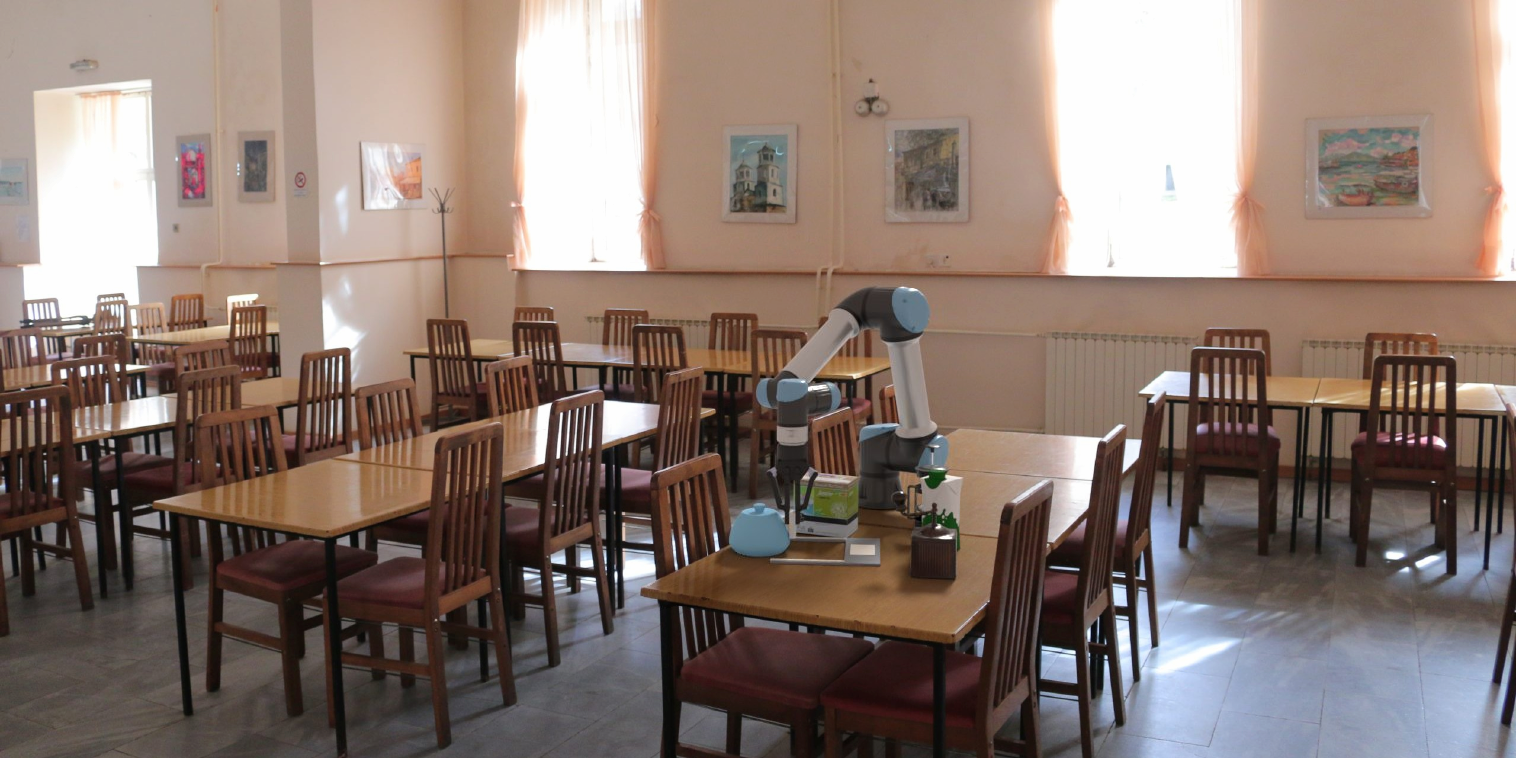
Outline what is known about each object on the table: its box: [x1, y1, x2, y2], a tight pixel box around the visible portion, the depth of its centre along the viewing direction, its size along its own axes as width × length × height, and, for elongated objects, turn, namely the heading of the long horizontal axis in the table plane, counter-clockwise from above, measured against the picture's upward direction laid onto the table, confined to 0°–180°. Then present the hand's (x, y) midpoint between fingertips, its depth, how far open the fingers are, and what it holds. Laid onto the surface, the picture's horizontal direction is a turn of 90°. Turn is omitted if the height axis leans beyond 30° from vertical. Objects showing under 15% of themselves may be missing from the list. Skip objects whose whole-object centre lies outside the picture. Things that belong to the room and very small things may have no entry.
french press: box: [906, 444, 951, 528], centre depth 303 cm, size 12×9×23 cm
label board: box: [769, 536, 881, 567], centre depth 285 cm, size 23×26×1 cm
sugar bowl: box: [728, 502, 791, 558], centre depth 286 cm, size 15×15×12 cm
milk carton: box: [919, 469, 964, 550], centre depth 286 cm, size 9×9×20 cm
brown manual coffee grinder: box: [891, 491, 958, 581], centre depth 267 cm, size 16×11×18 cm
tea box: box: [792, 471, 859, 538], centre depth 303 cm, size 15×10×15 cm
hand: (792, 537), depth 286 cm, fingers closed
